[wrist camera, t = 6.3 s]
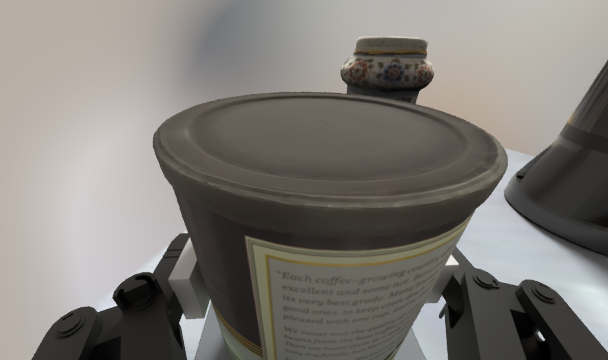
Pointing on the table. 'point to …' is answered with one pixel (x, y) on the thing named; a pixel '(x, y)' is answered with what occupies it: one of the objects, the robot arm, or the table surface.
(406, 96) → the apothecary jar
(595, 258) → the table surface
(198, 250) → the coffee can
